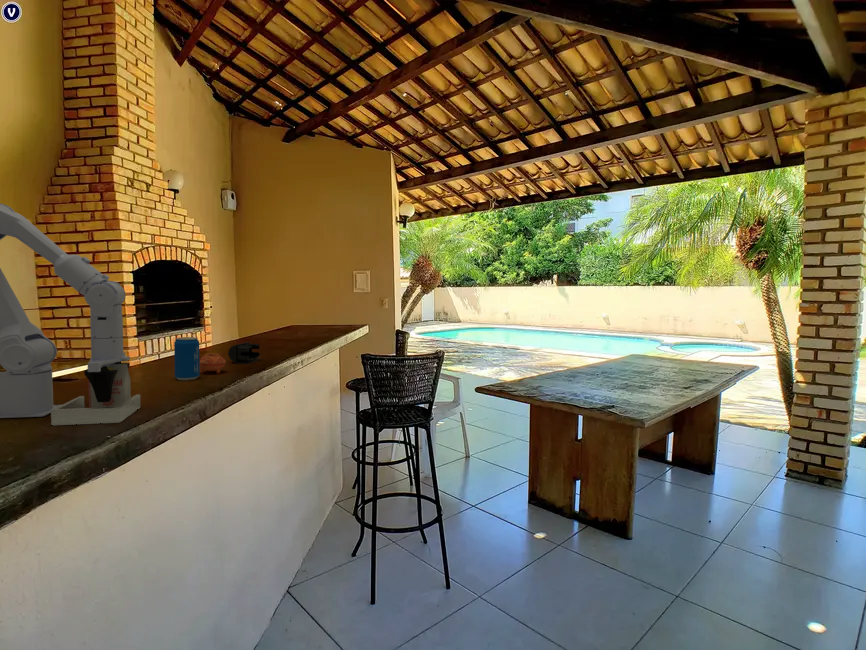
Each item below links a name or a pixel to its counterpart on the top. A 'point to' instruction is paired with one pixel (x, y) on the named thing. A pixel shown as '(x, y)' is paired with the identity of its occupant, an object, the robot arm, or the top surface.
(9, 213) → the robot arm
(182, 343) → the beverage can
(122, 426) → the top surface
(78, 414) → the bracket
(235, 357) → the end cap
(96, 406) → the tea bag
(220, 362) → the pot
